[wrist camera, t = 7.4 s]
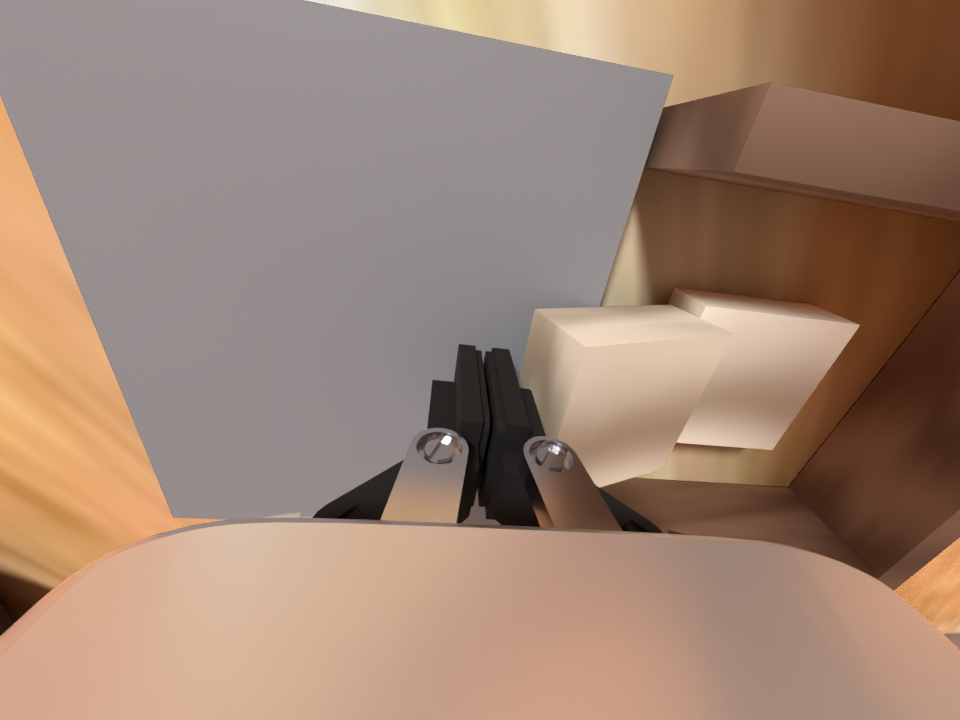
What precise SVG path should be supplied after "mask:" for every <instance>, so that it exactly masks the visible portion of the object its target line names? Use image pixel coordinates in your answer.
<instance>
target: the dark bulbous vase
mask: <svg viewBox="0 0 960 720" xmlns="http://www.w3.org/2000/svg"><path fill="white" fill-rule="evenodd" d="M12 625H13V622H12V620H11V618H10V616H9V614H8V612H7V611H6V609H5V608H4V607H3V606H2V604H1V603H0V636H1V635H2V634H3V633H4V632H5V631H6V630H7V629H9V628H10V627H11V626H12Z"/></svg>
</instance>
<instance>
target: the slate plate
mask: <svg viewBox="0 0 960 720" xmlns="http://www.w3.org/2000/svg"><path fill="white" fill-rule="evenodd" d="M672 79H673V75H669V74H664V73H659V72H654V71H649V70H645V69H640V68H635V67H630V66H625V65H620V64H615V63H610V62H605V61H600V60H595V59H590V58H585V57H581V56H576V55H571V54H566V53H561V52H556V51H551V50H546V49H541V48H536V47H531V46H526V45H522V44H517V43H512V42H507V41H502V40H497V39H492V38H487V37H482V36H477V35H472V34H467V33H462V32H458V31H453V30H448V29H443V28H438V27H433V26H428V25H423V24H418V23H413V22H408V21H403V20H399V19H394V18H389V17H384V16H379V15H374V14H369V13H364V12H359V11H354V10H349V9H344V8H339V7H335V6H330V5H325V4H320V3H315V2H310V1H305V0H0V96H1V99H2V101H3V103H4V106H5V108H6V111H7V113H8V116H9V118H10V121H11V123H12V125H13V128H14V130H15V133H16V135H17V138H18V140H19V143H20V145H21V147H22V150H23V152H24V155H25V157H26V160H27V162H28V164H29V167H30V169H31V172H32V174H33V177H34V179H35V182H36V184H37V186H38V189H39V191H40V194H41V196H42V199H43V201H44V204H45V206H46V208H47V211H48V213H49V216H50V218H51V221H52V223H53V226H54V228H55V230H56V233H57V235H58V238H59V240H60V243H61V245H62V247H63V250H64V252H65V255H66V257H67V260H68V262H69V265H70V267H71V269H72V272H73V274H74V277H75V279H76V282H77V284H78V287H79V289H80V291H81V294H82V296H83V299H84V301H85V304H86V306H87V308H88V311H89V313H90V316H91V318H92V321H93V323H94V326H95V328H96V330H97V333H98V335H99V338H100V340H101V343H102V345H103V348H104V350H105V352H106V355H107V357H108V360H109V362H110V365H111V367H112V370H113V372H114V374H115V377H116V379H117V382H118V384H119V387H120V389H121V391H122V394H123V396H124V399H125V401H126V404H127V406H128V409H129V411H130V413H131V416H132V418H133V421H134V423H135V426H136V428H137V431H138V433H139V435H140V438H141V440H142V443H143V445H144V448H145V450H146V452H147V455H148V457H149V460H150V462H151V465H152V467H153V470H154V472H155V474H156V477H157V479H158V482H159V484H160V487H161V489H162V492H163V494H164V496H165V499H166V501H167V504H168V506H169V509H170V511H171V514H172V516H173V517H178V518H202V519H227V520H235V519H249V518H262V517H269V516H276V515H283V514H290V513H297V512H301V514H302V517H306V516H312V515H315V514H316V512H317V511H318V510H320V509H321V508H323V507H324V506H325V505H327V504H328V503H330V502H332V501H333V500H335V499H337V498H339V497H340V496H342V495H344V494H345V493H347V492H349V491H351V490H352V489H354V488H356V487H357V486H359V485H361V484H363V483H364V482H366V481H368V480H370V479H371V478H373V477H375V476H376V475H378V474H380V473H382V472H383V471H385V470H387V469H389V468H390V467H392V466H394V465H395V464H397V463H399V462H401V461H402V460H404V458H405V455H406V453H407V450H408V448H409V445H410V443H411V441H412V439H413V438H414V436H415V435H417V434H418V433H419V432H421V431H424V430H426V429H427V425H428V416H429V407H430V398H431V388H432V380H441V381H451V382H454V375H455V368H456V360H457V353H458V346H459V344H465V345H474V346H476V350H481V351H482V359H483V363H484V357H485V352H486V351H490V352H491V350H492V348H502V349H509V350H510V354H511V357H512V361H513V365H514V368H515V372H516V375H517V379H518V381H519V377H520V373H521V368H522V364H523V359H524V355H525V350H526V346H527V342H528V337H529V333H530V328H531V324H532V319H533V315H534V310H535V309H547V308H579V307H600V304H601V300H602V297H603V294H604V291H605V288H606V285H607V282H608V279H609V275H610V272H611V269H612V266H613V263H614V260H615V257H616V254H617V250H618V247H619V244H620V241H621V238H622V235H623V232H624V229H625V225H626V222H627V219H628V216H629V213H630V210H631V207H632V204H633V200H634V197H635V194H636V191H637V188H638V185H639V182H640V179H641V175H642V172H643V169H644V166H645V163H646V160H647V157H648V154H649V150H650V147H651V144H652V141H653V138H654V135H655V132H656V129H657V125H658V122H659V119H660V116H661V113H662V110H663V107H664V104H665V100H666V97H667V94H668V91H669V88H670V85H671V82H672ZM462 524H484V525H501V524H500V523H499V522H497V521H496V520H489V519H486V514H485V507H479V505H478V490H477V493H476V498H475V502H474V506H471V510H470V515H469V517H468V518H467V519H466V520H464V521H463V522H462Z"/></svg>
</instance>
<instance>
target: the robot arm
mask: <svg viewBox="0 0 960 720" xmlns="http://www.w3.org/2000/svg"><path fill="white" fill-rule="evenodd" d="M477 490H478V505H479V507H485V514H486V519H489V520H496V521H497V522H499V523H500V524H501V525H484V524H462V522H463V521H464V520H466V519H467V518H468V517H469V515H470V510H471V506H474V502H475V498H476V493H477ZM0 720H960V650H959V649H958V648H957V647H956V646H955V645H954V644H953V643H952V642H951V641H950V640H949V639H948V638H947V637H946V636H944V635H943V634H942V633H941V632H940V631H939V630H938V629H937V628H936V627H935V626H934V625H933V624H932V623H931V622H929V621H928V620H927V619H926V618H925V617H924V616H923V615H921V614H920V613H919V612H918V611H917V610H916V609H915V608H913V607H912V606H911V605H910V604H909V603H908V602H907V601H905V600H904V599H903V598H902V597H901V596H900V595H898V594H897V593H896V592H895V591H893V590H892V589H891V588H889V587H888V586H887V585H885V584H884V583H882V582H881V581H879V580H878V579H876V578H874V577H872V576H870V575H868V574H867V573H865V572H863V571H861V570H859V569H857V568H854V567H852V566H850V565H848V564H846V563H843V562H840V561H838V560H835V559H832V558H829V557H827V556H824V555H821V554H819V553H815V552H812V551H808V550H804V549H800V548H797V547H793V546H789V545H783V544H777V543H772V542H766V541H757V540H747V539H736V538H726V537H713V536H697V535H686V534H682V533H678V532H674V531H670V530H666V532H665V533H662V531H661V530H660V529H659V528H658V527H657V526H655V525H654V524H653V523H652V522H650V521H649V520H648V519H646V518H645V517H643V516H642V515H640V514H639V513H637V512H636V511H634V510H633V509H631V508H630V507H628V506H626V505H625V504H623V503H622V502H620V501H619V500H617V499H616V498H614V497H613V496H611V495H610V494H608V493H607V492H605V491H604V490H602V489H601V488H599V487H598V486H596V485H595V484H594V482H593V481H592V479H591V477H590V476H589V474H588V472H587V471H586V469H585V467H584V465H583V464H582V462H581V460H580V459H579V457H578V455H577V454H576V453H575V451H574V450H573V449H572V448H571V447H570V446H569V445H567V444H566V443H565V442H563V441H561V440H559V439H556V438H552V437H548V436H546V435H545V432H544V428H543V425H542V422H541V419H540V416H539V413H538V410H537V407H536V403H535V400H534V397H533V394H532V391H531V390H530V389H526V388H520V386H519V383H518V379H517V375H516V372H515V368H514V365H513V361H512V357H511V354H510V350H509V349H502V348H492V350H491V352H490V351H486V352H485V357H484V363H483V359H482V351H481V350H476V346H474V345H465V344H459V346H458V353H457V360H456V368H455V375H454V382H451V381H441V380H432V388H431V398H430V407H429V416H428V425H427V429H426V430H424V431H421V432H419V433H418V434H417V435H415V436H414V438H413V439H412V441H411V443H410V445H409V448H408V450H407V453H406V455H405V458H404V460H402V461H401V462H399V463H397V464H395V465H394V466H392V467H390V468H389V469H387V470H385V471H383V472H382V473H380V474H378V475H376V476H375V477H373V478H371V479H370V480H368V481H366V482H364V483H363V484H361V485H359V486H357V487H356V488H354V489H352V490H351V491H349V492H347V493H345V494H344V495H342V496H340V497H339V498H337V499H335V500H333V501H332V502H330V503H328V504H327V505H325V506H324V507H323V508H321V509H320V510H318V511H317V512H316V514H315V515H312V516H306V517H302V514H301V512H297V513H290V514H283V515H276V516H269V517H262V518H249V519H235V520H224V521H217V522H211V523H205V524H199V525H192V526H188V527H184V528H180V529H176V530H172V531H168V532H164V533H160V534H156V535H153V536H150V537H147V538H144V539H141V540H138V541H135V542H132V543H130V544H127V545H125V546H122V547H120V548H117V549H115V550H113V551H111V552H109V553H107V554H105V555H103V556H101V557H99V558H97V559H95V560H93V561H92V562H90V563H88V564H87V565H85V566H84V567H82V568H81V569H79V570H78V571H76V572H74V573H73V574H72V575H70V576H69V577H68V578H66V579H65V580H64V581H63V582H61V583H60V584H59V585H57V586H56V587H55V588H53V589H52V590H51V591H50V592H49V593H48V594H46V595H45V596H44V597H43V598H42V599H40V600H39V601H38V602H37V603H36V604H35V605H34V606H32V607H31V608H30V609H29V610H28V611H27V612H26V613H25V614H24V615H23V616H22V617H21V618H19V619H18V620H17V621H16V622H15V623H14V624H13V625H12V626H11V627H10V628H9V629H7V630H6V631H5V632H4V633H3V634H2V635H1V636H0Z"/></svg>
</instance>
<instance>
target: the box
mask: <svg viewBox="0 0 960 720" xmlns="http://www.w3.org/2000/svg"><path fill="white" fill-rule="evenodd" d="M644 168H645V169H651V170H656V171H662V172H668V173H674V174H680V175H686V176H692V177H698V178H704V179H710V180H716V181H722V182H728V183H734V184H739V185H745V186H751V187H757V188H763V189H769V190H775V191H781V192H787V193H793V194H799V195H805V196H811V197H816V198H822V199H828V200H834V201H840V202H846V203H852V204H858V205H864V206H870V207H876V208H882V209H888V210H893V211H899V212H905V213H911V214H917V215H923V216H929V217H935V218H941V219H947V220H953V221H959V222H960V121H956V120H951V119H947V118H942V117H937V116H932V115H927V114H923V113H918V112H913V111H908V110H903V109H898V108H894V107H889V106H884V105H879V104H874V103H870V102H865V101H860V100H855V99H850V98H846V97H841V96H836V95H831V94H826V93H822V92H817V91H812V90H807V89H802V88H798V87H793V86H788V85H783V84H778V83H774V82H770V83H766V84H761V85H757V86H753V87H749V88H745V89H740V90H736V91H732V92H728V93H724V94H719V95H715V96H711V97H707V98H703V99H698V100H694V101H690V102H686V103H682V104H677V105H673V106H669V107H665V108H663V110H662V113H661V116H660V119H659V122H658V125H657V129H656V132H655V135H654V138H653V141H652V144H651V147H650V150H649V154H648V157H647V160H646V163H645V166H644ZM600 488H601V489H602V490H604V491H605V492H607V493H608V494H610V495H611V496H613V497H614V498H616V499H617V500H619V501H620V502H622V503H623V504H625V505H626V506H628V507H630V508H631V509H633V510H634V511H636V512H637V513H639V514H640V515H642V516H643V517H645V518H646V519H648V520H649V521H650V522H652V523H653V524H654V525H655V526H657V527H658V528H659V529H660V530H661V531H662V533H665V532H666V530H670V531H674V532H678V533H682V534H686V535H697V536H713V537H726V538H736V539H747V540H757V541H766V542H772V543H777V544H783V545H789V546H793V547H797V548H800V549H804V550H808V551H812V552H815V553H819V554H821V555H824V556H827V557H829V558H832V559H835V560H838V561H840V562H843V563H846V564H848V565H850V566H852V567H854V568H857V569H859V570H861V571H863V572H865V573H867V574H868V575H870V576H872V577H874V578H876V579H878V580H879V581H881V582H882V583H884V584H885V585H887V586H888V587H889V588H891V589H892V590H893V591H894V590H895V589H896V588H897V587H899V586H900V585H901V584H902V583H904V582H905V581H906V580H907V579H909V578H910V577H911V576H912V575H914V574H915V573H916V572H917V571H918V570H920V569H921V568H922V567H923V566H925V565H926V564H927V563H928V562H930V561H931V560H932V559H933V558H935V557H936V556H937V555H938V554H940V553H941V552H942V551H943V550H945V549H946V548H947V547H948V546H949V545H951V544H952V543H953V542H954V541H956V540H957V539H958V538H959V537H960V272H959V273H958V274H957V275H956V277H955V278H954V279H953V281H952V282H951V283H950V284H949V286H948V287H947V288H946V289H945V291H944V292H943V293H942V294H941V296H940V297H939V298H938V299H937V301H936V302H935V303H934V304H933V306H932V307H931V308H930V310H929V311H928V312H927V313H926V315H925V316H924V317H923V318H922V320H921V321H920V322H919V323H918V325H917V326H916V327H915V328H914V330H913V331H912V332H911V333H910V335H909V336H908V337H907V339H906V340H905V341H904V342H903V344H902V345H901V346H900V347H899V349H898V350H897V351H896V352H895V354H894V355H893V356H892V357H891V359H890V360H889V361H888V362H887V364H886V365H885V366H884V368H883V369H882V370H881V371H880V373H879V374H878V375H877V376H876V378H875V379H874V380H873V381H872V383H871V384H870V385H869V386H868V388H867V389H866V390H865V392H864V393H863V394H862V395H861V397H860V398H859V399H858V400H857V402H856V403H855V404H854V405H853V407H852V408H851V409H850V410H849V412H848V413H847V414H846V415H845V417H844V418H843V419H842V421H841V422H840V423H839V424H838V426H837V427H836V428H835V429H834V431H833V432H832V433H831V434H830V436H829V437H828V438H827V439H826V441H825V442H824V443H823V444H822V446H821V447H820V448H819V450H818V451H817V452H816V453H815V455H814V456H813V457H812V458H811V460H810V461H809V462H808V463H807V465H806V466H805V467H804V468H803V470H802V471H801V472H800V474H799V475H798V476H797V477H796V479H795V480H794V481H793V482H792V484H791V485H790V486H789V487H774V486H757V485H741V484H725V483H708V482H692V481H675V480H659V479H642V478H630V479H627V480H624V481H620V482H617V483H614V484H610V485H607V486H603V487H600Z"/></svg>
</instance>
